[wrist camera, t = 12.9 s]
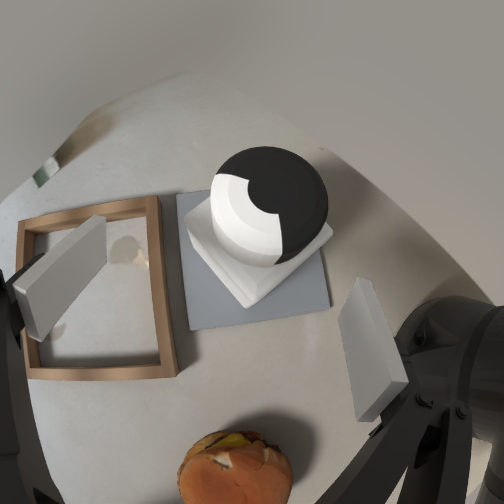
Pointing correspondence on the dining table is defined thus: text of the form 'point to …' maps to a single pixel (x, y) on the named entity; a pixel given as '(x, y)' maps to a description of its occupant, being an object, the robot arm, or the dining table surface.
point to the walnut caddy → (159, 289)
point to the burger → (235, 471)
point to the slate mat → (223, 301)
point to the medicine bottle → (260, 220)
